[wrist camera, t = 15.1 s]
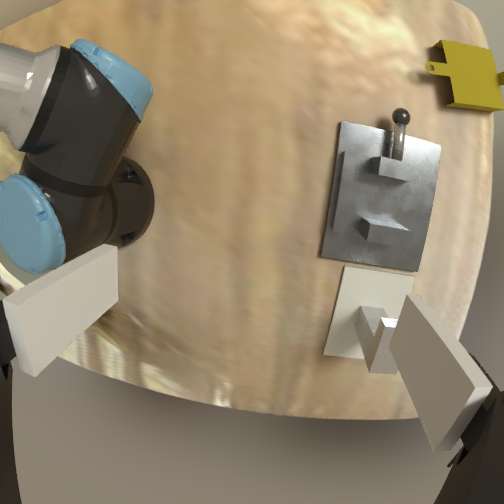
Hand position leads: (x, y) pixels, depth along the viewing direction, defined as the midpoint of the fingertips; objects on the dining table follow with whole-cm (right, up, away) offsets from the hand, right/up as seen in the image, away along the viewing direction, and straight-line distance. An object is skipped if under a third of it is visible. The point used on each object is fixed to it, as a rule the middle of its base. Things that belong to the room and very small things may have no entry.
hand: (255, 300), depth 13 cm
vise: (+19, +11, +29) cm, 37 cm away
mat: (+19, -9, +35) cm, 41 cm away
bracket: (+33, +30, +23) cm, 50 cm away
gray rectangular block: (+19, -7, +34) cm, 40 cm away
